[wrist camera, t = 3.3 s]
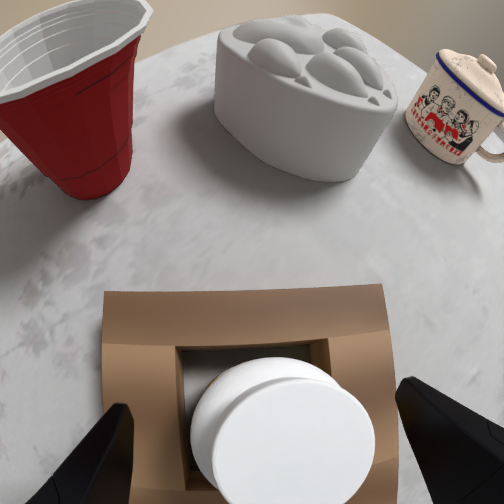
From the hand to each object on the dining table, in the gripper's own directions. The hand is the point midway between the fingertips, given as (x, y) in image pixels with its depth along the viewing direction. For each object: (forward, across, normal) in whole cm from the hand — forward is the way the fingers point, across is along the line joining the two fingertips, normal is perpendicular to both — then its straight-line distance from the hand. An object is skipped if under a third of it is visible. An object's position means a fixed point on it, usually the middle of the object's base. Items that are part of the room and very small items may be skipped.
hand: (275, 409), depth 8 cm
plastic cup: (+16, +10, -5) cm, 20 cm away
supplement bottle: (+4, 0, +6) cm, 7 cm away
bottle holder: (+4, 0, +6) cm, 7 cm away
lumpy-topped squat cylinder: (+19, -5, -8) cm, 21 cm away
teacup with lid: (+20, -23, -9) cm, 31 cm away
